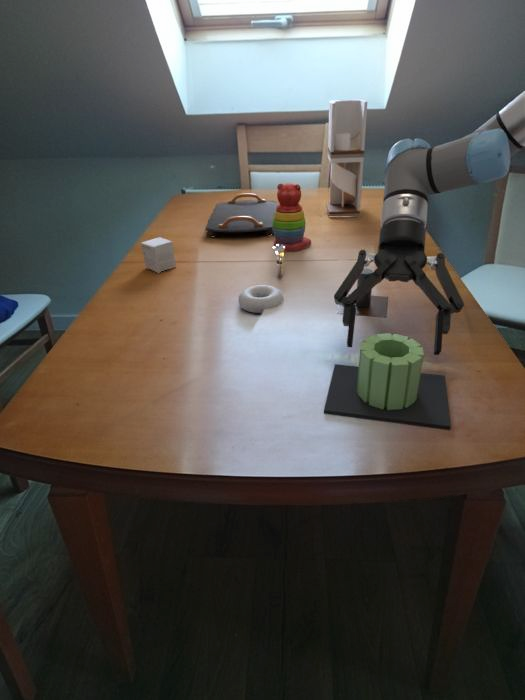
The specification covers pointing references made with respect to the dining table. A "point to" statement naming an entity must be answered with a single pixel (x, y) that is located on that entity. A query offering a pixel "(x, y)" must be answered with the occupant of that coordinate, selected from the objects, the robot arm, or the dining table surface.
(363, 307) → the stacking stand
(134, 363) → the dining table surface
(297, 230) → the stacking bear
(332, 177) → the spiral ramp tower
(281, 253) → the ring
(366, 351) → the sage ring
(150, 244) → the product box
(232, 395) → the dining table surface
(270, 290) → the donut
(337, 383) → the rubber mat
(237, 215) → the serving tray
